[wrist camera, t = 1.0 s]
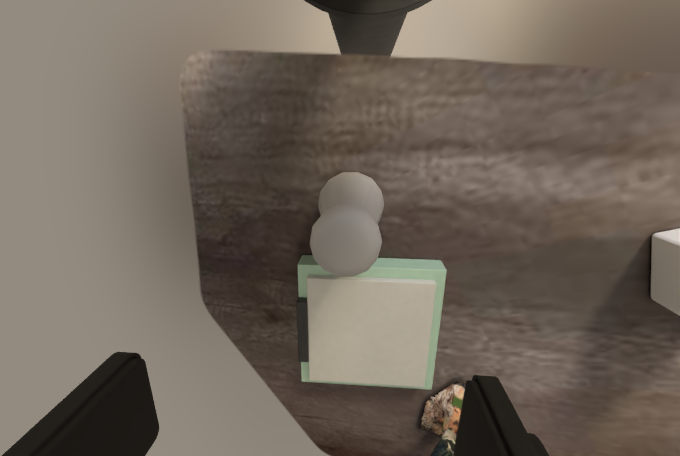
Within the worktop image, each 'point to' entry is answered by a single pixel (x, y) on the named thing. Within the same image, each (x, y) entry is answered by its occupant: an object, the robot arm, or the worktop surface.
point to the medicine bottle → (666, 269)
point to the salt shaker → (348, 225)
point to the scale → (370, 323)
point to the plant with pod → (444, 417)
